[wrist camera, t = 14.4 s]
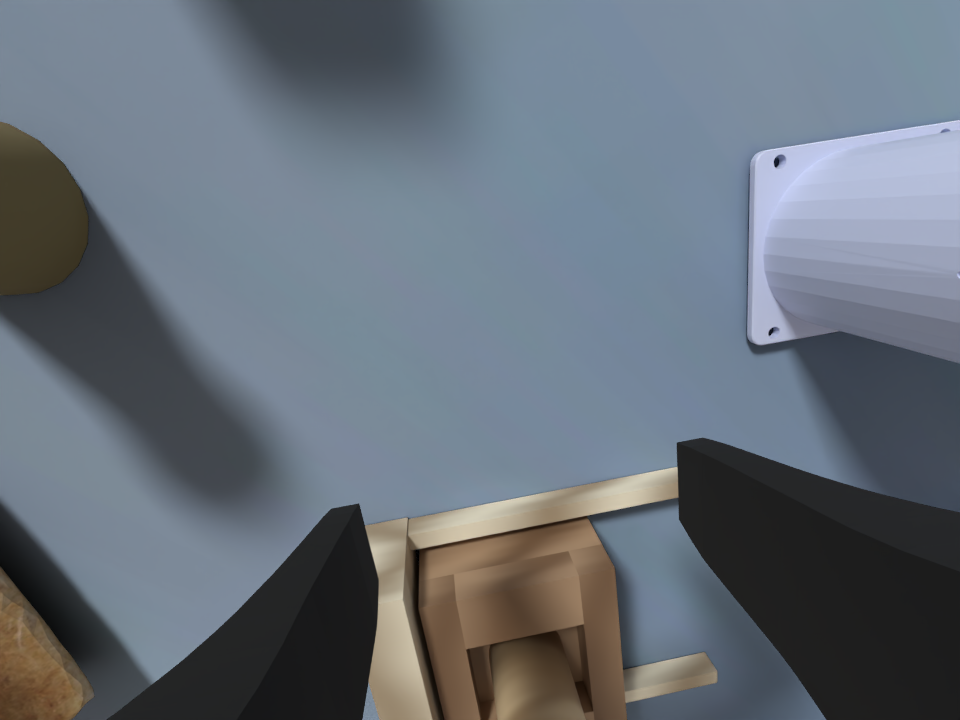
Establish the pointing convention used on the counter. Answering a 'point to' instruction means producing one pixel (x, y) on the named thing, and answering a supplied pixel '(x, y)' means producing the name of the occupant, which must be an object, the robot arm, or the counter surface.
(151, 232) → the counter surface
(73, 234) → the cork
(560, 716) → the oak dowel
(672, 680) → the birch rail and backstop
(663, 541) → the counter surface
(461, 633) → the walnut block
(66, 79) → the counter surface
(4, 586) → the brown wooden stand
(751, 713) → the counter surface
